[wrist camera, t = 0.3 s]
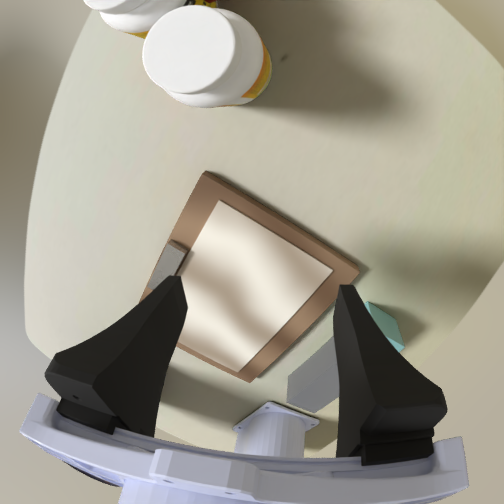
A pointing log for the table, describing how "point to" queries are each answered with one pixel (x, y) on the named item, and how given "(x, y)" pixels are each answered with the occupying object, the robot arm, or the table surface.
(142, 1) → the supplement bottle
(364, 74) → the table surface
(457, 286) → the table surface
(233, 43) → the supplement bottle
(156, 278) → the clipboard
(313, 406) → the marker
